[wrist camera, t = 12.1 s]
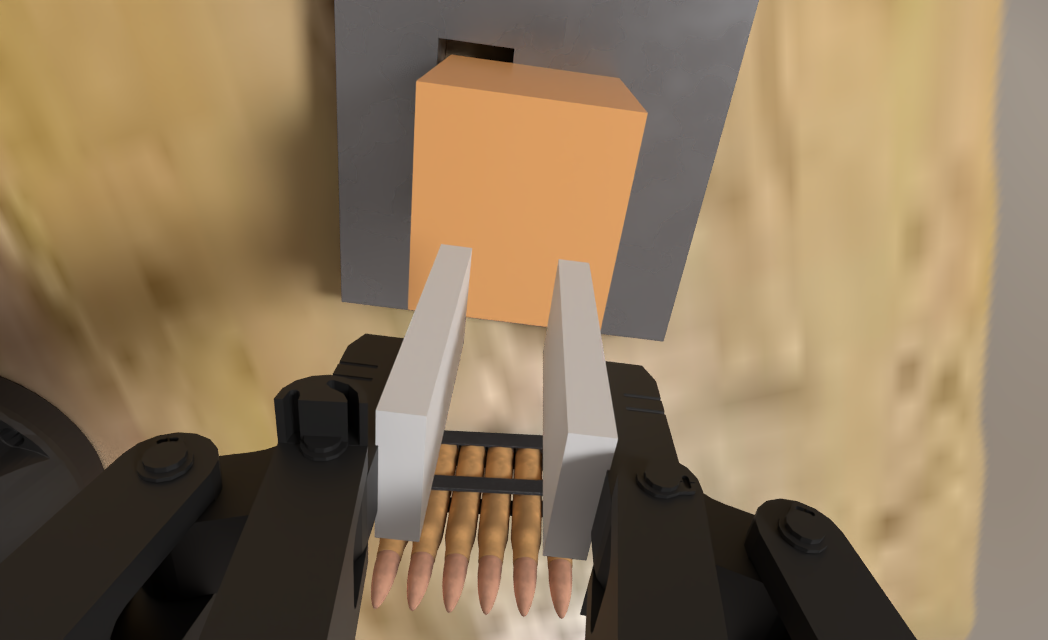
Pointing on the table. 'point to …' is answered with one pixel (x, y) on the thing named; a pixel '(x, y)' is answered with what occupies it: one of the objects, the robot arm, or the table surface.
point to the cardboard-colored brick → (520, 179)
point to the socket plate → (551, 42)
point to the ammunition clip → (494, 510)
